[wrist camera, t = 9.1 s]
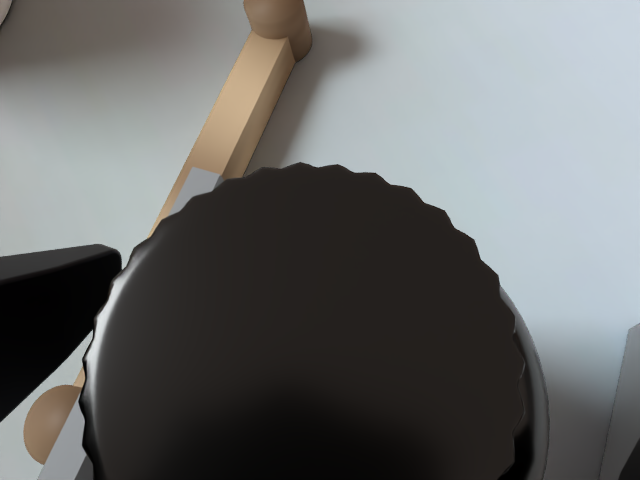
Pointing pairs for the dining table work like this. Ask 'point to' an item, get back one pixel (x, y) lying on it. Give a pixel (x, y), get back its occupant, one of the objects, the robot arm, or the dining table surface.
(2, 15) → the pill bottle
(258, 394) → the supplement bottle
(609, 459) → the bay
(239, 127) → the rail
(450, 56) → the dining table surface
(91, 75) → the dining table surface
